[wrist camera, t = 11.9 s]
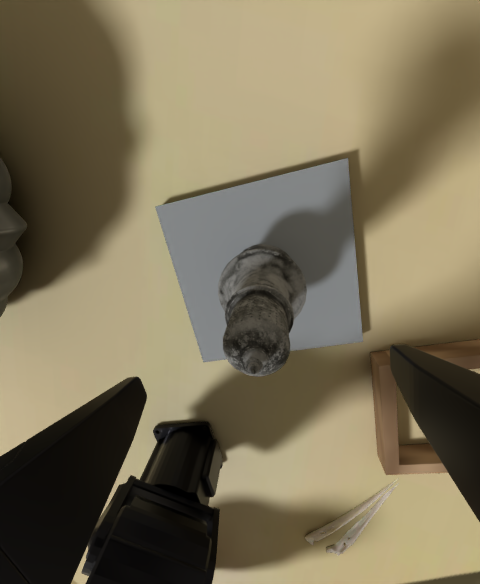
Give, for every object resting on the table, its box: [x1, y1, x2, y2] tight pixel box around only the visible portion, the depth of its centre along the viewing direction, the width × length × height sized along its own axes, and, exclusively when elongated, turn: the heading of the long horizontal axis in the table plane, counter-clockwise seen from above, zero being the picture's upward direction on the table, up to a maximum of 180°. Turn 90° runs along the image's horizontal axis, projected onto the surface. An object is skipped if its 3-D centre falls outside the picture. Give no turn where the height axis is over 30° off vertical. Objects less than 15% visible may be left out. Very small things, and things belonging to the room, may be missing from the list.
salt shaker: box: [218, 244, 307, 377], centre depth 15 cm, size 6×6×12 cm
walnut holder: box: [370, 339, 480, 475], centre depth 22 cm, size 12×12×2 cm
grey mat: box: [155, 158, 363, 362], centre depth 21 cm, size 14×14×1 cm
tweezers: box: [305, 478, 399, 555], centre depth 29 cm, size 18×5×2 cm, turn 151°
